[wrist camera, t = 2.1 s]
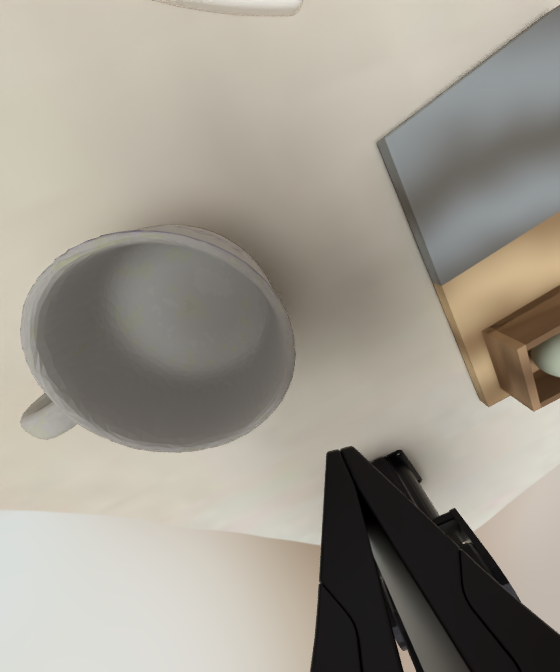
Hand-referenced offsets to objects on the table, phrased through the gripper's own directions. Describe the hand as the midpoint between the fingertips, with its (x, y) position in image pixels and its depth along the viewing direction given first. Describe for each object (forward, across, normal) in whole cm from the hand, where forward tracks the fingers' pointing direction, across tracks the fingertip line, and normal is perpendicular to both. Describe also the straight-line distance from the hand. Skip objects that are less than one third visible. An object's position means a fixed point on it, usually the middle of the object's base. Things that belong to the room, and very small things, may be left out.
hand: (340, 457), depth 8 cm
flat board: (+12, -16, 0) cm, 20 cm away
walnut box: (+11, -19, +6) cm, 23 cm away
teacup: (+12, +7, -2) cm, 14 cm away
